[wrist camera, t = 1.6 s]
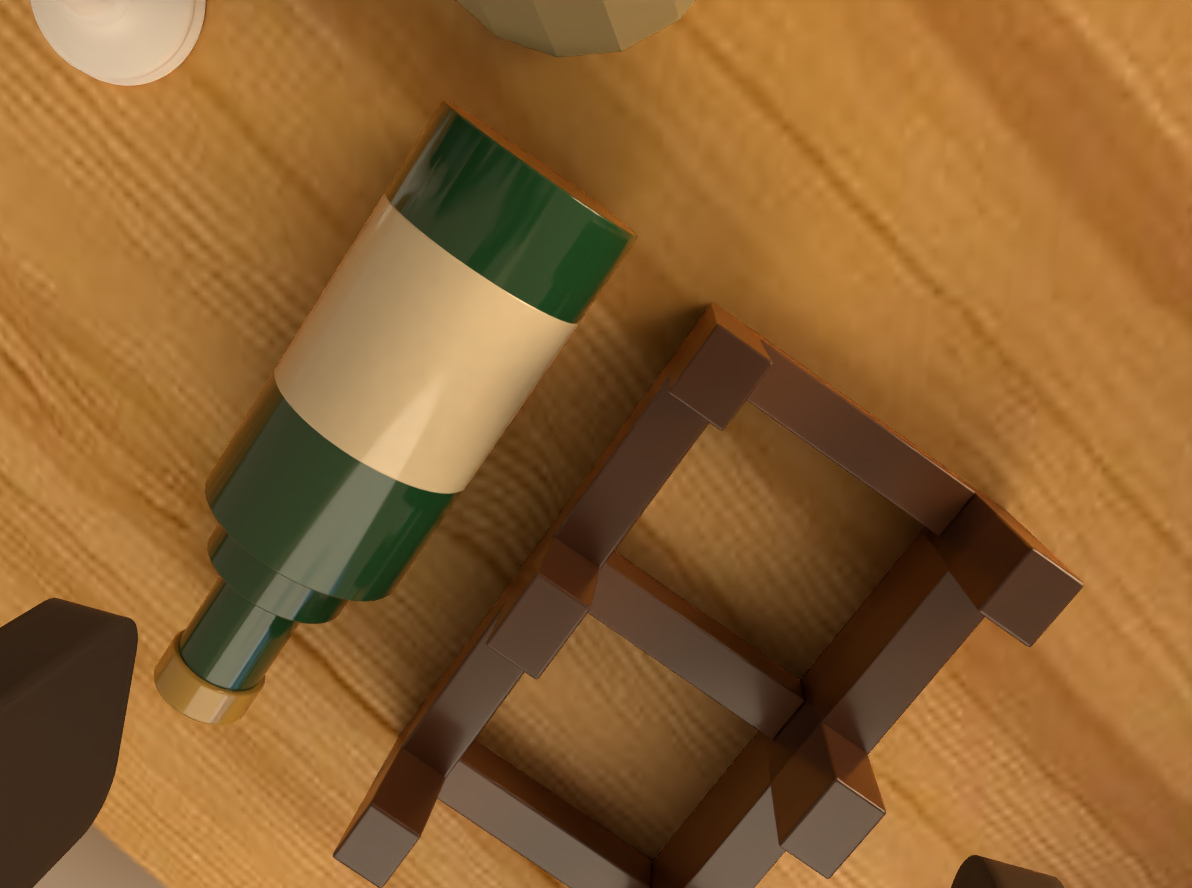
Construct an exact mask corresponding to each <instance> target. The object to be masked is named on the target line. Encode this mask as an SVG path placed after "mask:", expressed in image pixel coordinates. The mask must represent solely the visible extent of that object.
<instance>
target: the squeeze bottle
mask: <svg viewBox="0 0 1192 888" xmlns="http://www.w3.org/2000/svg"><path fill="white" fill-rule="evenodd" d="M456 1H457V2H458V3H459V4H460V5H461V6H462V7H464V8H465V9H466V10H467V11H468V12H469V13H470V14H471V15H473V16H474V17H475V18H476V19H477V20H478V21H479V22H480V23H482V24H483V25H484V26H485V27H486V28H487V29H488V30H489V31H491V32H492V33H493V34H494V35H495V36H496V37H498V38H501V39H504V40H507V41H510V42H513V43H516V44H519V45H522V46H525V47H528V48H531V49H534V50H537V51H540V52H543V53H546V54H549V55H552V56H555V57H567V56H578V55H589V54H599V53H610V52H621V51H623V50H625V49H627V48H629V47H631V46H632V45H634V44H636V43H638V42H640V41H642V40H643V39H645V38H647V37H649V36H651V35H653V34H654V33H656V32H658V31H660V30H662V29H664V28H665V27H667V26H669V25H671V24H673V23H675V22H676V21H678V20H680V19H681V18H682V16H683V15H684V14H685V13H686V11H687V10H688V9H689V8H690V7H691V5H692V4H693V3H694V2H695V0H456Z"/></svg>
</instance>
